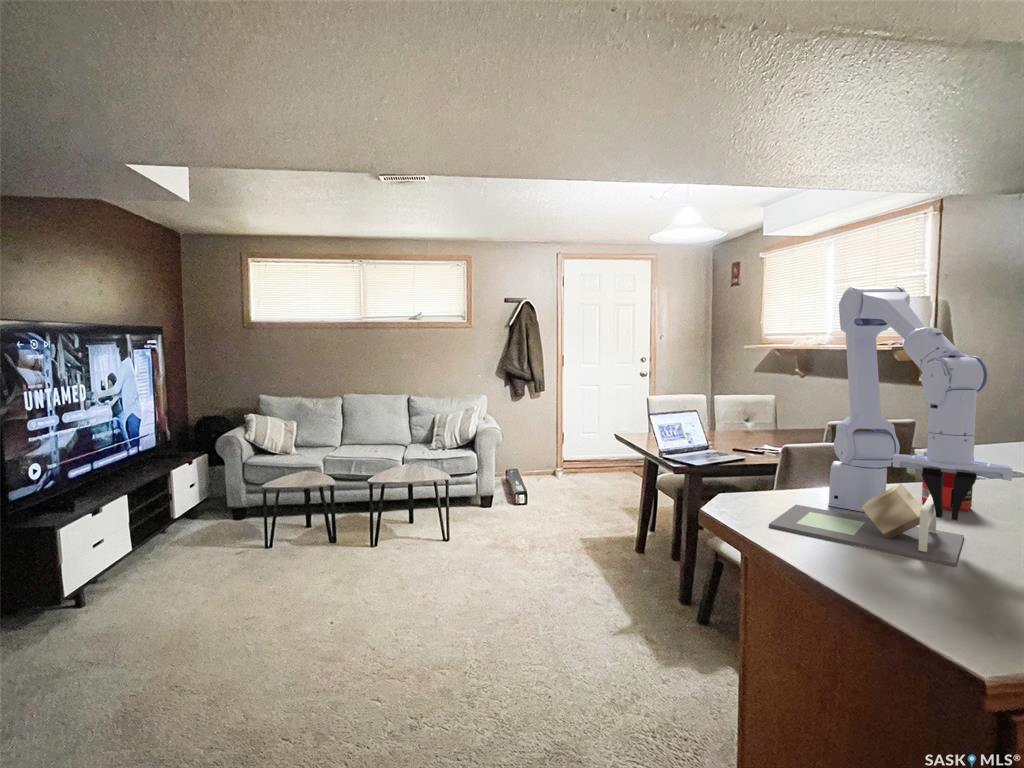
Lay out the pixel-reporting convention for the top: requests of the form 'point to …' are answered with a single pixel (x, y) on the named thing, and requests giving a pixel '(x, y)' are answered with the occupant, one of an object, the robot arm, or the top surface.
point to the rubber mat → (868, 534)
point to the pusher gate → (926, 523)
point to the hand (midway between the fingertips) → (947, 517)
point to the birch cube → (893, 511)
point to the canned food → (948, 492)
